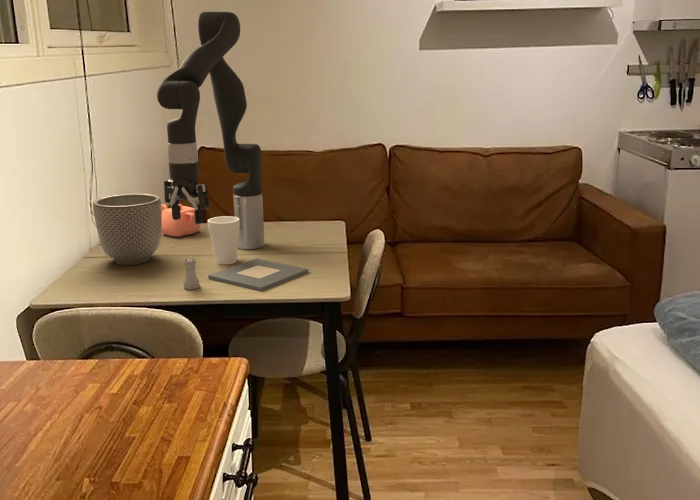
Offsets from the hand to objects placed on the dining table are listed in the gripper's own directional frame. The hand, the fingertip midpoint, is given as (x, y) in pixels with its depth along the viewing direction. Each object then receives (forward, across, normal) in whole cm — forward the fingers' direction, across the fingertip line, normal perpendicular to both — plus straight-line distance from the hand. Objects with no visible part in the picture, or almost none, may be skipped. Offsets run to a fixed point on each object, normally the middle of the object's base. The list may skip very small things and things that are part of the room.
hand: (188, 221), depth 193 cm
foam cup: (+18, -10, +23) cm, 31 cm away
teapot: (+18, -49, +40) cm, 66 cm away
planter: (+18, -35, +8) cm, 41 cm away
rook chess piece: (+19, 0, 0) cm, 19 cm away
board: (+18, +8, +18) cm, 27 cm away
